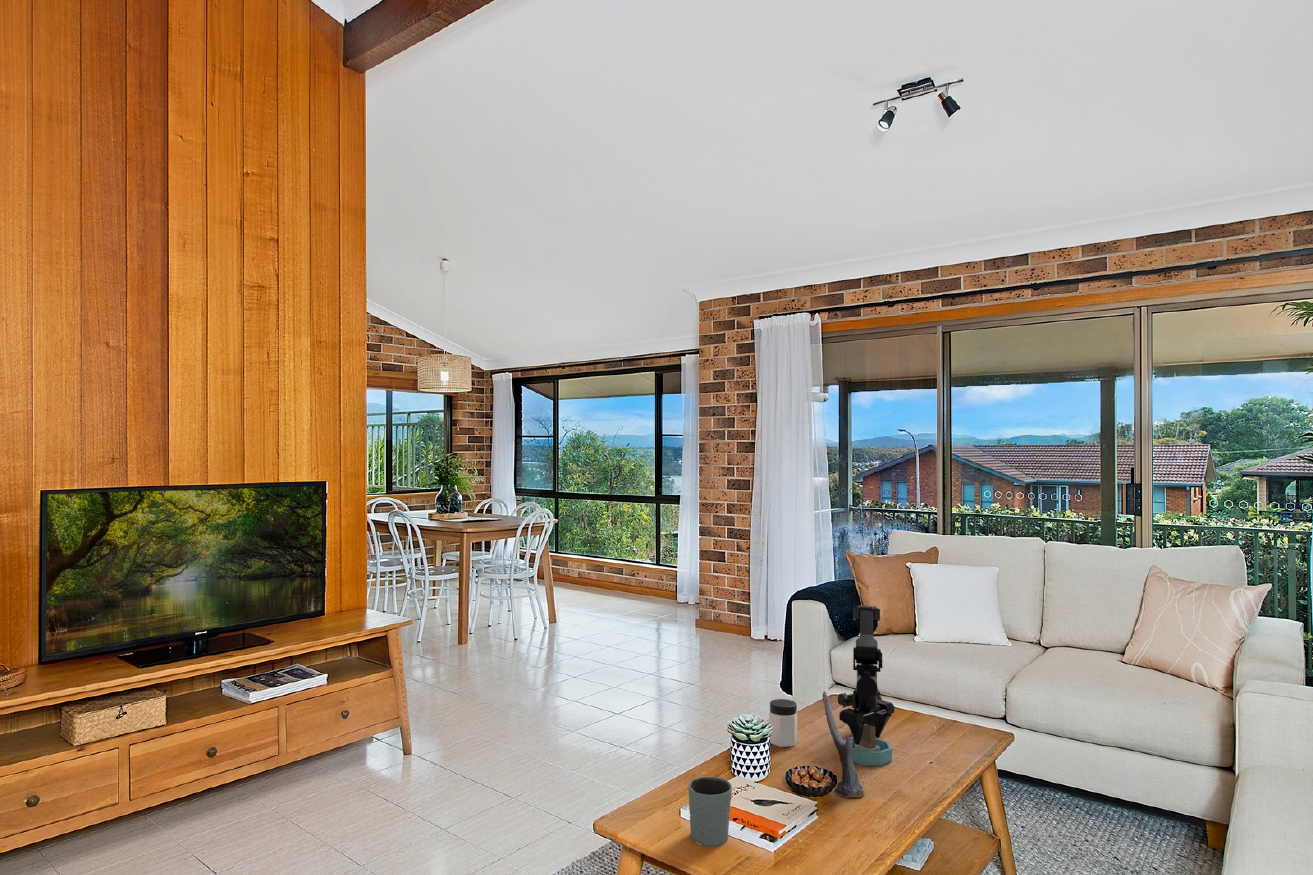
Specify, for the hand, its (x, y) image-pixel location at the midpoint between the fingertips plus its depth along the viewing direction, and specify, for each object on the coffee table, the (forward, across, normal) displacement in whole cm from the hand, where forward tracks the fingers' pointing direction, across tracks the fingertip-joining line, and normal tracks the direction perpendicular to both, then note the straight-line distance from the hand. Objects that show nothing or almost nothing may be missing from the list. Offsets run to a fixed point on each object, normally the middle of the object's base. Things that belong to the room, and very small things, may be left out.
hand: (867, 741), depth 229 cm
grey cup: (+5, +69, +9) cm, 70 cm away
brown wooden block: (+4, 0, 0) cm, 4 cm away
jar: (+5, +11, -23) cm, 26 cm away
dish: (+4, 0, 0) cm, 4 cm away
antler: (+5, +25, +11) cm, 28 cm away
